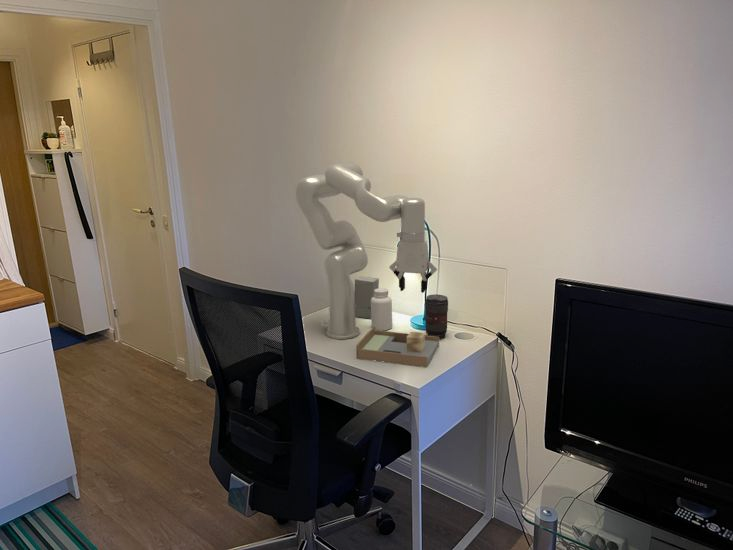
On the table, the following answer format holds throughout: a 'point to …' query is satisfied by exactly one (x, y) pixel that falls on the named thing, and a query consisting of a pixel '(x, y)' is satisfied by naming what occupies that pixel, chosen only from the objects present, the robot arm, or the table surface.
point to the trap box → (394, 348)
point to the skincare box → (364, 295)
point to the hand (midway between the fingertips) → (412, 290)
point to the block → (415, 341)
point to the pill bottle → (381, 310)
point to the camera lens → (436, 315)
